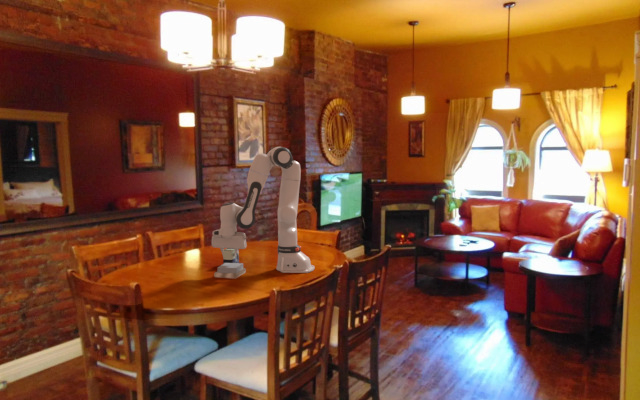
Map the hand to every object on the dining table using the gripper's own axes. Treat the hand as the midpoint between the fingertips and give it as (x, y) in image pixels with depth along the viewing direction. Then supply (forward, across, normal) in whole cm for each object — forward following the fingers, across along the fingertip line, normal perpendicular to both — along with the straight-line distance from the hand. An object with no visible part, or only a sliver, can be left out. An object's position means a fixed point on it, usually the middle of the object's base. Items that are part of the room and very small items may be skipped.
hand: (229, 255), depth 258 cm
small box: (+11, +9, -19) cm, 24 cm away
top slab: (+8, -1, 0) cm, 8 cm away
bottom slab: (+12, 0, 0) cm, 12 cm away
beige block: (+2, 0, 0) cm, 2 cm away
